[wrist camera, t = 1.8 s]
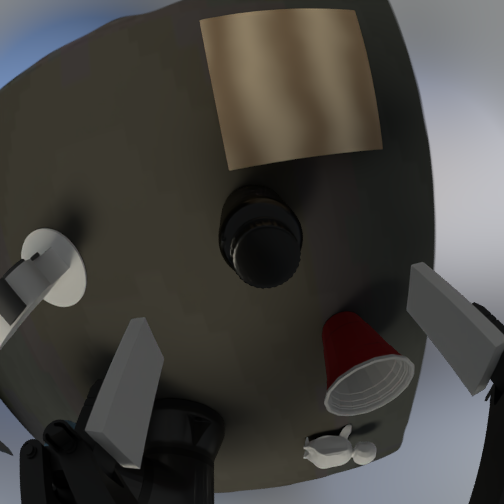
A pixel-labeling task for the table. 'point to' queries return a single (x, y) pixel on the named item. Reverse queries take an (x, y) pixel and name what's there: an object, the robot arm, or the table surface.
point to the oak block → (291, 85)
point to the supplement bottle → (260, 236)
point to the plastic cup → (360, 366)
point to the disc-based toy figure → (40, 279)
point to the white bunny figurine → (338, 450)
